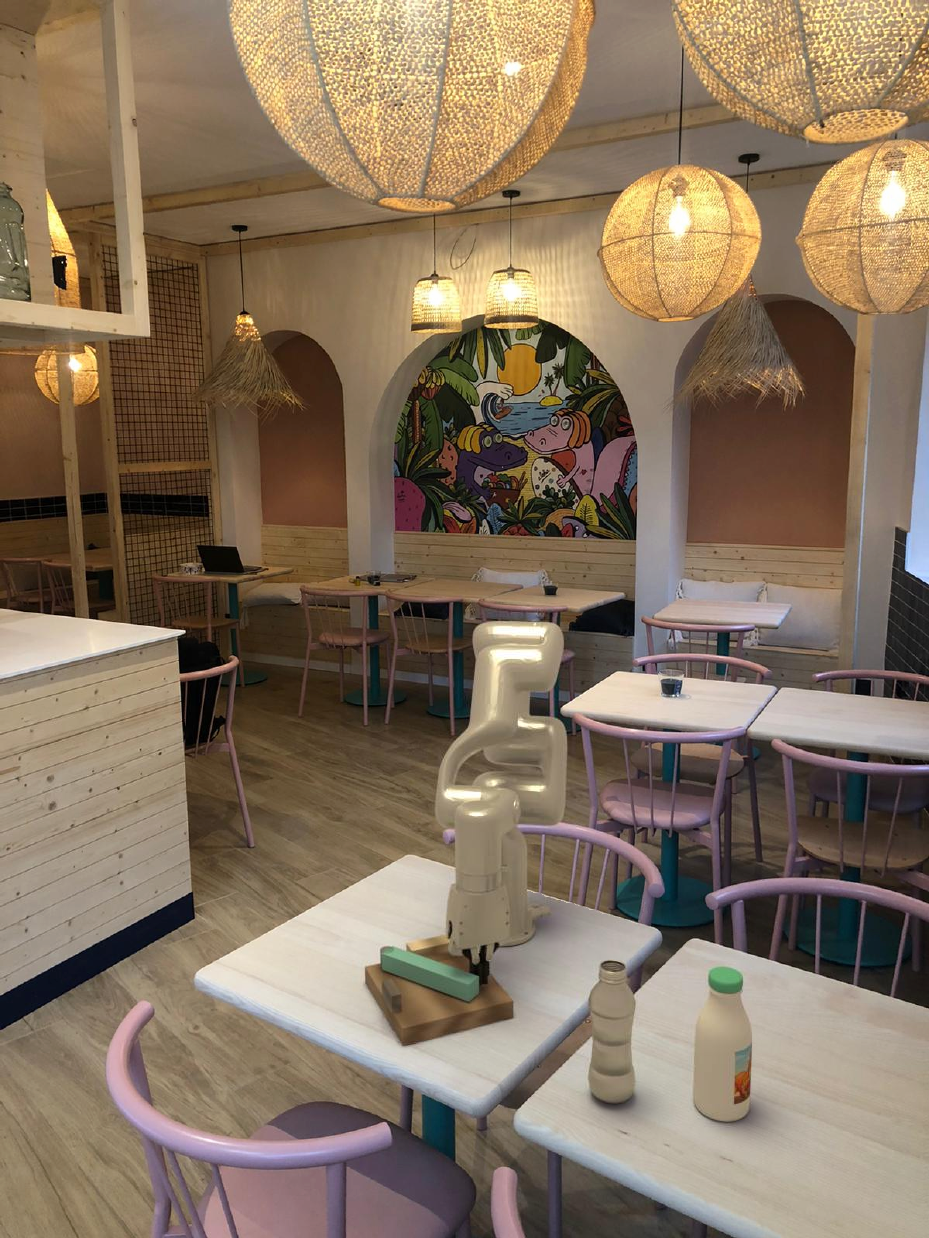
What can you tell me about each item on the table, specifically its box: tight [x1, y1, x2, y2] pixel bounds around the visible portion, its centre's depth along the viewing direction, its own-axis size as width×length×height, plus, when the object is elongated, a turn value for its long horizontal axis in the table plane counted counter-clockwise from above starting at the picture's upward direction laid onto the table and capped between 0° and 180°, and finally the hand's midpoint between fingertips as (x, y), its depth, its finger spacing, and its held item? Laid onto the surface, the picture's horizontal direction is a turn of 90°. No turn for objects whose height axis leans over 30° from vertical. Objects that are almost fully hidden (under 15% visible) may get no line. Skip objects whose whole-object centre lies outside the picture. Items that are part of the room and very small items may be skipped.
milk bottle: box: [692, 966, 753, 1123], centre depth 136 cm, size 8×8×20 cm
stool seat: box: [364, 934, 514, 1047], centre depth 164 cm, size 19×20×6 cm
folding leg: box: [379, 945, 479, 1002], centre depth 164 cm, size 19×3×3 cm, turn 56°
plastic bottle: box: [587, 959, 637, 1105], centre depth 138 cm, size 6×7×20 cm
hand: (479, 980), depth 162 cm, fingers closed
